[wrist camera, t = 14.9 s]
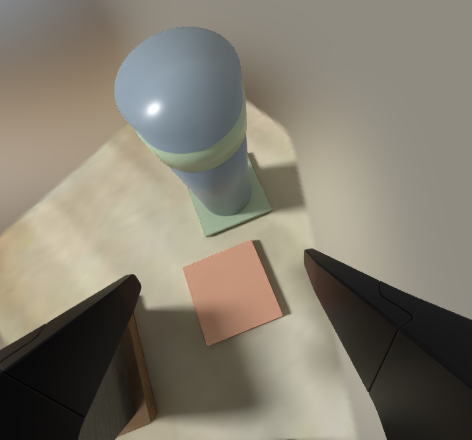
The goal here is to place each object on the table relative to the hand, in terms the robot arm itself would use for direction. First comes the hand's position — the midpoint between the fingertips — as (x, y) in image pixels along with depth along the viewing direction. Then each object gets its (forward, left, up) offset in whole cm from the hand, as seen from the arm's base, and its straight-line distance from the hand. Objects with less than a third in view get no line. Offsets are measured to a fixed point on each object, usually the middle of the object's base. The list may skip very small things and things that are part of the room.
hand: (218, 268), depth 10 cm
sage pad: (+7, -2, -9) cm, 11 cm away
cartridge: (+7, -2, -8) cm, 11 cm away
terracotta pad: (-2, +1, -9) cm, 9 cm away
